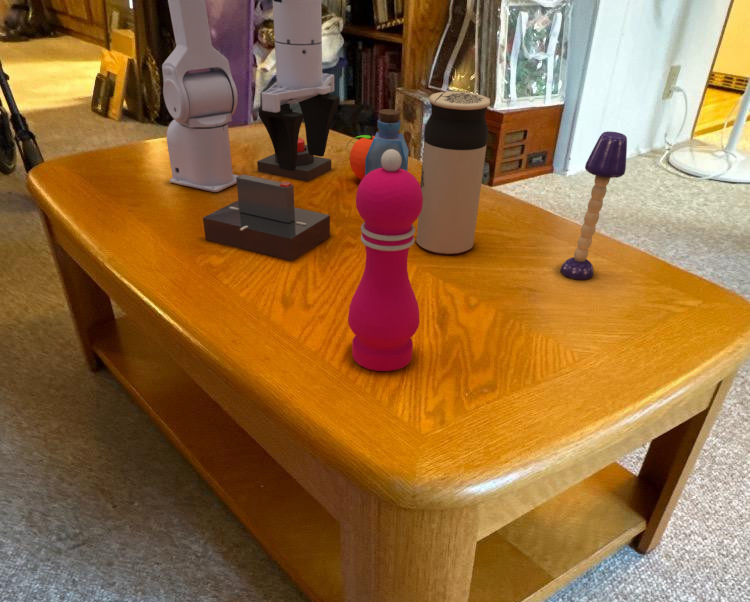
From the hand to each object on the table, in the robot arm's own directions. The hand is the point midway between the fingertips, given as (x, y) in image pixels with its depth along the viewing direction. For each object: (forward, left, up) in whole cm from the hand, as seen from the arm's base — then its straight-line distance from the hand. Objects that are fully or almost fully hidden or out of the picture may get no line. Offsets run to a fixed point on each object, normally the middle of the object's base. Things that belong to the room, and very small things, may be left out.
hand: (302, 162), depth 91 cm
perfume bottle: (+3, +20, -9) cm, 22 cm away
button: (-16, +23, -6) cm, 28 cm away
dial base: (-3, -5, -9) cm, 11 cm away
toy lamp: (+38, +6, -9) cm, 40 cm away
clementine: (-3, +25, -9) cm, 26 cm away
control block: (-16, +23, -9) cm, 29 cm away
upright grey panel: (-3, -5, -6) cm, 8 cm away
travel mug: (+19, +6, -9) cm, 22 cm away
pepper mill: (+25, -26, -9) cm, 38 cm away
